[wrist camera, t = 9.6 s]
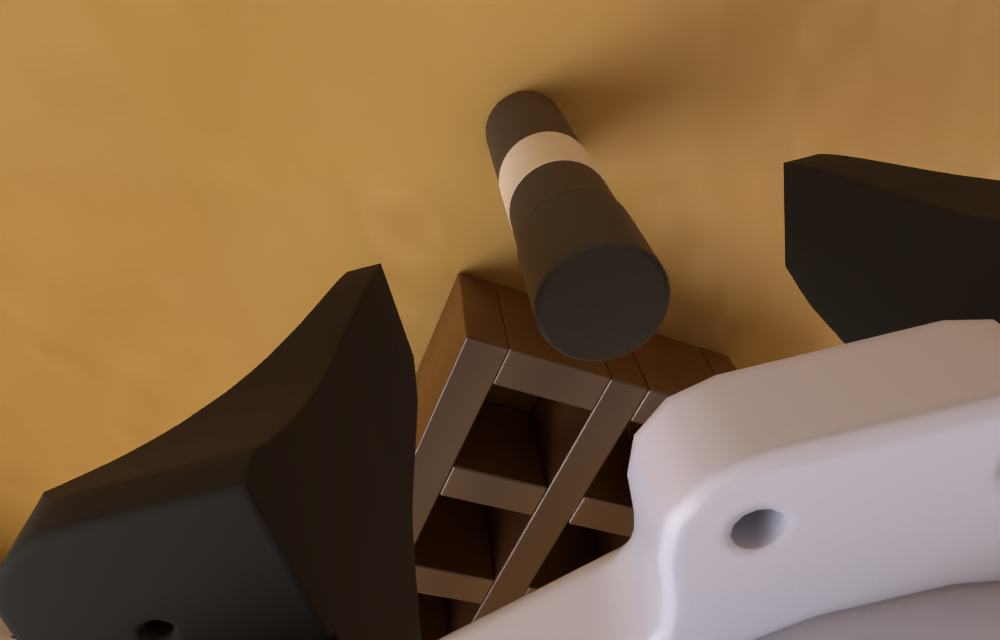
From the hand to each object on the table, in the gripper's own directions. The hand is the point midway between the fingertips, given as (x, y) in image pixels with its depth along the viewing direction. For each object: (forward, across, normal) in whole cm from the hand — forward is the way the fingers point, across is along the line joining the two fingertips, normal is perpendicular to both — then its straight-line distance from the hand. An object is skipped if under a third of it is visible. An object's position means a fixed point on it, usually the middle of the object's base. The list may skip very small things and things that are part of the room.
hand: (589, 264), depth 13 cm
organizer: (+8, +3, +12) cm, 15 cm away
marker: (+8, 0, 0) cm, 8 cm away
